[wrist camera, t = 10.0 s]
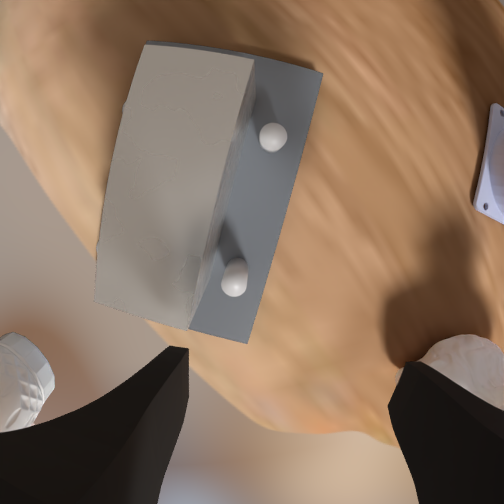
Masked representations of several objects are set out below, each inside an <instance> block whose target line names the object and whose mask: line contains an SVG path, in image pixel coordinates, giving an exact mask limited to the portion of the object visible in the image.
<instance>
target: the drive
mask: <svg viewBox="0 0 504 504" xmlns="http://www.w3.org/2000/svg"><path fill="white" fill-rule="evenodd" d="M255 101H256V84H255V64H254V60H253V59H249V58H244V57H239V56H233V55H228V54H222V53H216V52H210V51H203V50H196V49H188V48H179V47H170V46H158V45H144V48H143V51H142V54H141V57H140V59H139V62H138V65H137V68H136V71H135V74H134V78H133V81H132V84H131V87H130V91H129V94H128V97H127V101H126V104H125V108H124V112H123V115H122V119H121V123H120V127H119V131H118V135H117V139H116V144H115V148H114V153H113V157H112V162H111V167H110V172H109V177H108V183H107V188H106V194H105V200H104V207H103V214H102V221H101V228H100V236H99V245H98V255H97V265H96V280H95V295H94V302H96V303H99V304H102V305H105V306H108V307H111V308H114V309H117V310H120V311H123V312H126V313H129V314H132V315H135V316H138V317H141V318H144V319H148V320H151V321H154V322H157V323H161V324H164V325H168V326H171V327H174V328H178V329H182V330H185V331H187V330H188V328H189V326H190V323H191V321H192V319H193V316H194V314H195V312H196V309H197V307H198V305H199V302H200V300H201V298H202V296H203V293H204V291H205V289H206V286H207V284H208V282H209V280H210V277H211V272H212V268H213V264H214V259H215V255H216V251H217V247H218V243H219V238H220V234H221V230H222V226H223V222H224V218H225V214H226V210H227V206H228V202H229V198H230V194H231V190H232V186H233V182H234V178H235V174H236V171H237V167H238V163H239V159H240V155H241V152H242V148H243V144H244V140H245V137H246V133H247V129H248V126H249V122H250V118H251V115H252V111H253V108H254V104H255Z"/></svg>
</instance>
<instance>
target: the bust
mask: <svg viewBox="0 0 504 504" xmlns="http://www.w3.org/2000/svg"><path fill="white" fill-rule="evenodd" d="M418 361H421V362H423V363H425V364H427V365H429V366H430V367H432V368H434V369H435V370H437V371H438V372H440V373H442V374H443V375H445V376H446V377H448V378H449V379H451V380H452V381H454V382H455V383H457V384H458V385H460V386H461V387H463V388H464V389H466V390H468V391H469V392H471V393H472V394H474V395H476V396H477V397H479V398H481V399H482V400H484V401H486V402H488V403H489V404H491V405H493V406H495V407H497V408H499V409H501V410H503V411H504V354H503V352H502V351H501V349H500V348H499V347H498V346H497V345H496V344H494V343H493V342H492V341H490V340H489V339H487V338H482V337H479V336H477V335H472V334H467V335H463V334H462V335H457V336H453V337H451V338H449V339H444V340H442V341H439V342H437V343H436V344H434V345H433V346H432V347H431V348H430V349H429V350H428V352H427V354H426V355H425V356H424V357H423V358H421V359H419V360H418ZM403 369H404V367H403V368H401V369H399V370H398V372H397V373H396V376H395V379H396V380H395V381H396V386H397V384H398V381H399V379H400V376H401V374H402V371H403Z"/></svg>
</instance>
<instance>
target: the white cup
mask: <svg viewBox="0 0 504 504" xmlns="http://www.w3.org/2000/svg"><path fill="white" fill-rule="evenodd" d="M54 388H55V381H54V374H53V371H52V369H51V367H50V365H49V362H48V360H47V359H46V358H45V356H44V355H43V354H42V352H41V351H40V350H39V348H38V347H37V346H36V345H34V344H33V343H32V342H31V341H29V340H28V339H27V338H26V337H25V336H22V335H20V334H17V333H14V332H11V333H8V334H5V335H3V336H2V337H0V432H8V431H13V430H18V429H22V428H26V427H30V426H31V424H32V423H33V422H34V420H35V419H36V417H37V415H38V413H39V412H40V410H41V408H42V405H43V404H44V402H45V400H46V399H47V398H48V396H49V395H50V394H51V392H52V391H53V389H54Z"/></svg>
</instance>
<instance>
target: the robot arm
mask: <svg viewBox="0 0 504 504" xmlns="http://www.w3.org/2000/svg"><path fill="white" fill-rule="evenodd" d="M500 112H501V114H500ZM484 203H485V208H483V205H484ZM473 205H474V208H475V210H477V211H479V212H481V213H483V214H485V215H486V216H488V217H490V218H492V219H494V220H496V221H498V222H500V223H501V224H503V225H504V108H503V107H502V106H500V105H499V104H497V103H494V104H492V105H491V107H490V116H489V124H488V132H487V138H486V144H485V150H484V156H483V161H482V166H481V171H480V176H479V180H478V185H477V189H476V193H475V197H474V202H473ZM188 398H189V349H188V348H181V347H175V346H169V347H167V348H166V349H165V350H164V351H163V352H161V353H160V354H159V355H158V356H156V357H155V358H154V359H153V360H152V361H150V362H149V363H148V364H147V365H146V366H145V367H143V368H142V369H141V370H139V371H138V372H137V373H135V374H134V375H133V376H132V377H130V378H129V379H128V380H126V381H125V382H123V383H122V384H120V385H119V386H117V387H116V388H115V389H113V390H112V391H110V392H109V393H107V394H105V395H104V396H102V397H100V398H99V399H97V400H95V401H93V402H91V403H89V404H88V405H86V406H84V407H82V408H80V409H77V410H75V411H73V412H70V413H68V414H65V415H63V416H61V417H58V418H55V419H53V420H50V421H47V422H44V423H41V424H38V425H34V426H30V427H26V428H22V429H18V430H13V431H8V432H0V504H157V503H158V498H159V493H160V489H161V485H162V482H163V478H164V475H165V472H166V470H167V467H168V464H169V461H170V458H171V456H172V452H173V450H174V447H175V445H176V442H177V439H178V436H179V433H180V431H181V428H182V425H183V421H184V417H185V413H186V408H187V403H188ZM388 410H389V415H390V419H391V423H392V427H393V430H394V433H395V435H396V438H397V440H398V443H399V445H400V448H401V450H402V453H403V455H404V457H405V460H406V462H407V465H408V468H409V470H410V473H411V475H412V478H413V481H414V484H415V488H416V492H417V496H418V501H419V504H504V411H503V410H501V409H499V408H497V407H495V406H493V405H491V404H489V403H488V402H486V401H484V400H482V399H481V398H479V397H477V396H476V395H474V394H472V393H471V392H469V391H468V390H466V389H464V388H463V387H461V386H460V385H458V384H457V383H455V382H454V381H452V380H451V379H449V378H448V377H446V376H445V375H443V374H442V373H440V372H438V371H437V370H435V369H434V368H432V367H430V366H429V365H427V364H425V363H423V362H421V361H415V362H406V364H405V366H404V369H403V371H402V374H401V376H400V379H399V381H398V384H397V386H396V388H395V391H394V393H393V395H392V397H391V400H390V402H389V404H388Z"/></svg>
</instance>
